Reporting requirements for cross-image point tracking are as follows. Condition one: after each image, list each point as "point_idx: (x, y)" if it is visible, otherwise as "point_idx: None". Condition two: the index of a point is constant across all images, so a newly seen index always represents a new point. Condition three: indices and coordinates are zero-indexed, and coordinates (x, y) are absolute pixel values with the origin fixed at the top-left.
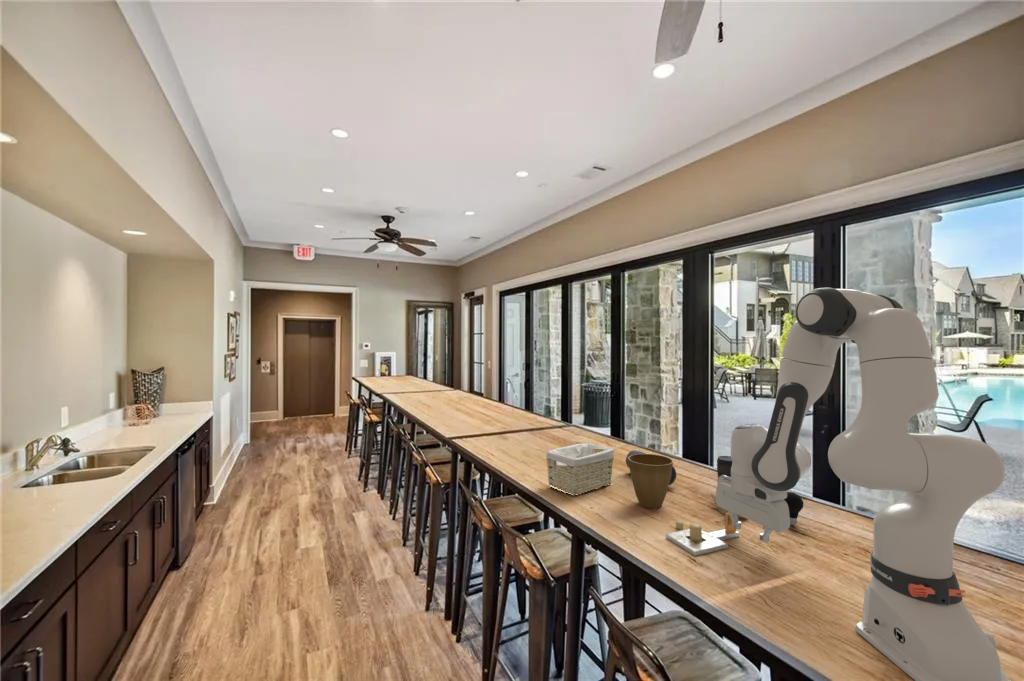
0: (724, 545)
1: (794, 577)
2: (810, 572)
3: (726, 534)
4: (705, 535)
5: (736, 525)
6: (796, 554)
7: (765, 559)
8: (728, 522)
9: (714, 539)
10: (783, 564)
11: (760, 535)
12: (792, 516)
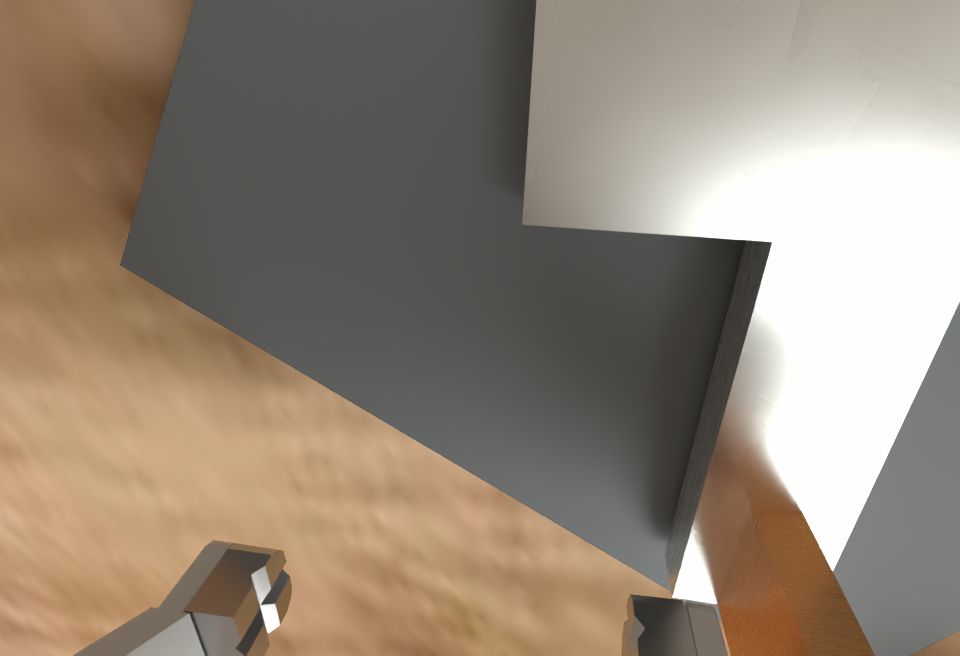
0: (529, 162)
1: (13, 349)
2: (78, 496)
3: (728, 450)
4: (954, 140)
5: (644, 644)
6: (304, 629)
7: (300, 412)
8: (798, 649)
9: (739, 160)
10: (200, 453)
11: (225, 600)
12: None
